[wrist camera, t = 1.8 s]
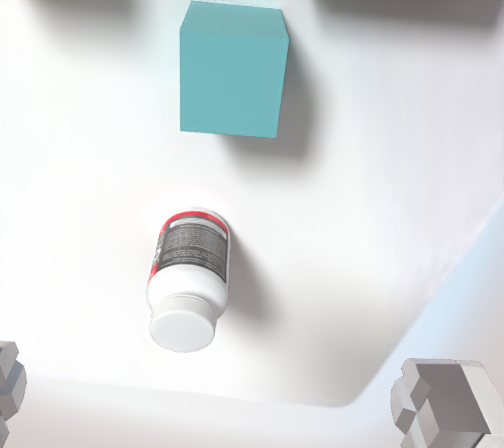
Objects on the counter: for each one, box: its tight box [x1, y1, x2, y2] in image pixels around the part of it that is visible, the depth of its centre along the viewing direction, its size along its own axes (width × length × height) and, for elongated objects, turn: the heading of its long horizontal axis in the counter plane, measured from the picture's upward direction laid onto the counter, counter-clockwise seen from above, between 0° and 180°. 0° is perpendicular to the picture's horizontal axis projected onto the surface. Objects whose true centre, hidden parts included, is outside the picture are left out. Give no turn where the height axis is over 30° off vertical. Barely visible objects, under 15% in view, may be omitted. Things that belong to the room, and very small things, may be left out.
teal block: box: [180, 1, 289, 138], centre depth 25 cm, size 5×5×6 cm
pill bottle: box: [146, 207, 230, 352], centre depth 31 cm, size 5×5×10 cm
